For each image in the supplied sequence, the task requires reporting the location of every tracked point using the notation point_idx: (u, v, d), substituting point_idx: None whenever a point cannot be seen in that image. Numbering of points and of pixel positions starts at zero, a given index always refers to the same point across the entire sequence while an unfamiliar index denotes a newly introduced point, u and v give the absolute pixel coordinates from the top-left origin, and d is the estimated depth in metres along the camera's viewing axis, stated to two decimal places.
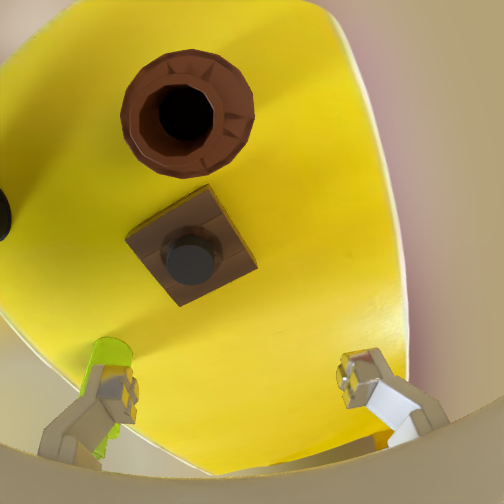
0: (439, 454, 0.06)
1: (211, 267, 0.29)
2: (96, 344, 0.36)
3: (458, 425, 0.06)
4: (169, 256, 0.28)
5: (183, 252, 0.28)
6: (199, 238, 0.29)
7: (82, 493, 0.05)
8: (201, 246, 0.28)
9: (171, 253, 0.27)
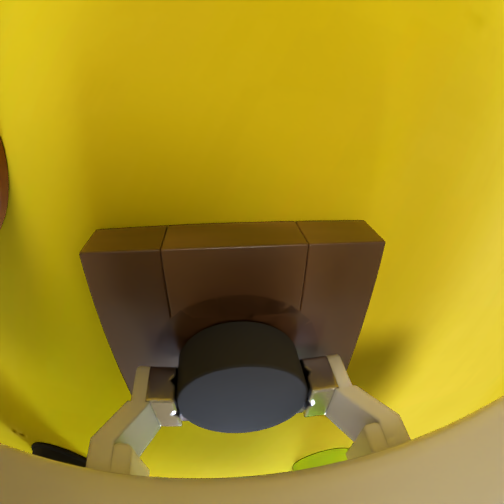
0: (439, 454, 0.06)
1: (280, 375, 0.09)
2: None
3: (458, 425, 0.06)
4: (192, 421, 0.10)
5: (196, 403, 0.09)
6: (198, 340, 0.10)
7: (82, 493, 0.05)
8: (204, 368, 0.09)
9: (186, 417, 0.10)
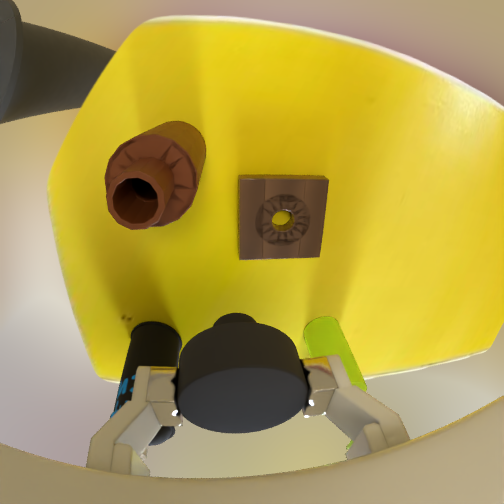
0: (439, 454, 0.06)
1: (281, 375, 0.09)
2: (305, 338, 0.45)
3: (458, 425, 0.06)
4: (192, 422, 0.10)
5: (197, 404, 0.09)
6: (198, 340, 0.10)
7: (82, 493, 0.05)
8: (205, 369, 0.09)
9: (187, 417, 0.10)
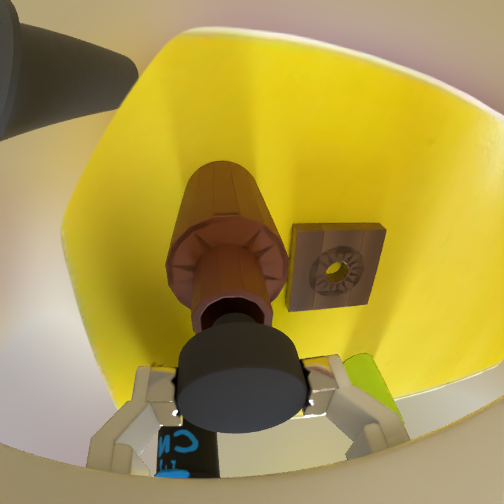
0: (439, 454, 0.06)
1: (280, 375, 0.09)
2: None
3: (458, 425, 0.06)
4: (192, 422, 0.10)
5: (196, 404, 0.09)
6: (198, 340, 0.10)
7: (82, 493, 0.05)
8: (204, 369, 0.09)
9: (186, 417, 0.10)
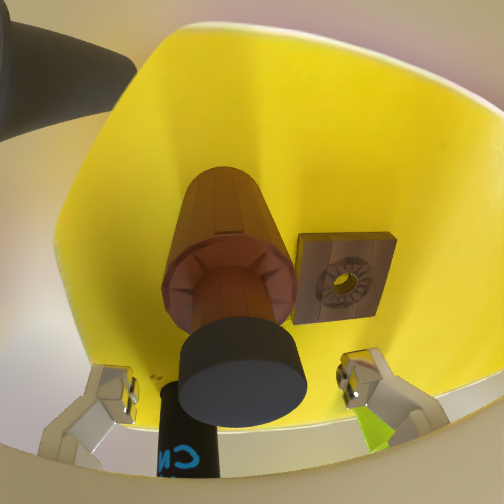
0: (439, 454, 0.06)
1: (280, 369, 0.09)
2: None
3: (458, 425, 0.06)
4: (193, 416, 0.10)
5: (197, 397, 0.09)
6: (199, 335, 0.10)
7: (82, 493, 0.05)
8: (205, 362, 0.09)
9: (188, 411, 0.10)
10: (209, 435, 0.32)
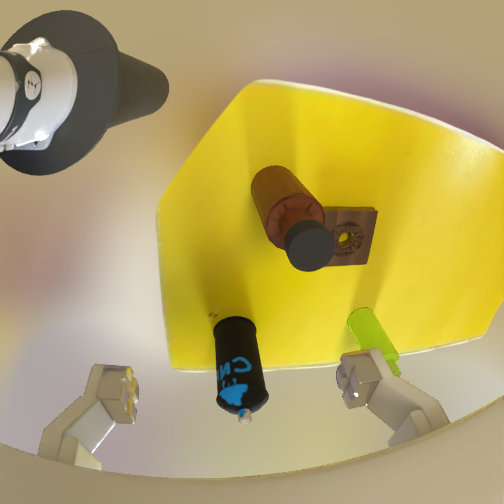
0: (439, 454, 0.06)
1: (326, 234, 0.27)
2: (349, 324, 0.59)
3: (458, 425, 0.06)
4: (291, 262, 0.28)
5: (296, 248, 0.27)
6: (295, 225, 0.28)
7: (82, 493, 0.05)
8: (302, 230, 0.27)
9: (290, 258, 0.28)
10: (255, 352, 0.49)
